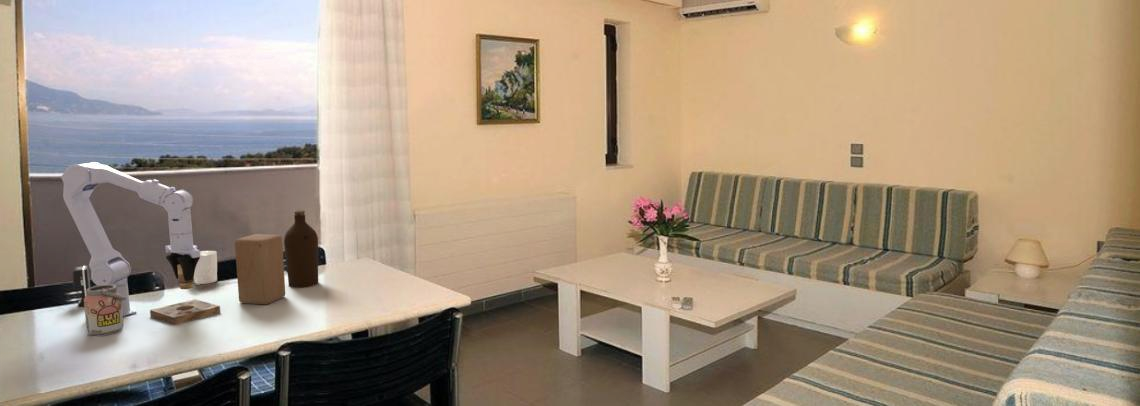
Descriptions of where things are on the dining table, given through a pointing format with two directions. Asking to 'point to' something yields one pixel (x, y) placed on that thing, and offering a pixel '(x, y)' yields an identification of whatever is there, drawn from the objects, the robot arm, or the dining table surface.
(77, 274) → the battery charger
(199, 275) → the white cup
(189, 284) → the peg
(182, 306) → the board
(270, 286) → the wooden block
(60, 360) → the dining table surface
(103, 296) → the beverage can
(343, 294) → the dining table surface
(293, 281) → the olive oil
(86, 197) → the robot arm
